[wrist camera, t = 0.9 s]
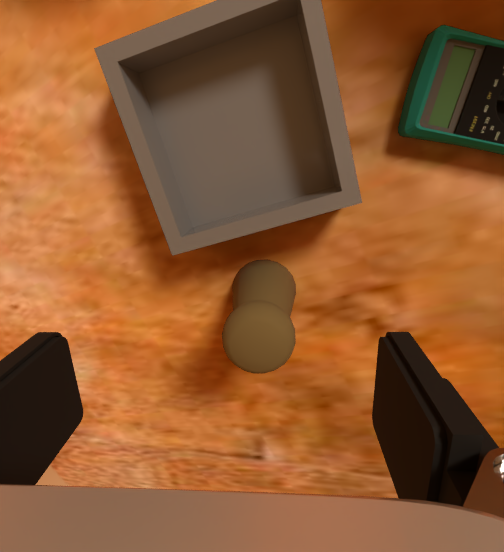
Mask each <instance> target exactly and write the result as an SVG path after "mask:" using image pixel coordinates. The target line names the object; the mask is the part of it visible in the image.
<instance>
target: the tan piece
mask: <svg viewBox="0 0 504 552" xmlns="http://www.w3.org/2000/svg"><path fill="white" fill-rule="evenodd" d="M295 294H296V286H295V282H294V279H293V276H292V275H291V273H290V272H289V271H288V270H287V269H286V268H285V267H284V266H282V265H281V264H279V263H278V262H274V261H271V260H256V261H253V262H251V263H248V264H247V265H245V266H244V267H243V268H241V269H240V270H239V272H238V273H237V275H236V276H235V279H234V283H233V311H232V312H231V314H230V315H229V317H228V318H227V320H226V322H225V324H224V328H223V332H222V339H223V347H224V350H225V352H226V354H227V356H228V358H229V359H230V360H231V361H232V362H233V363H234V364H235V365H236V366H238V367H239V368H241V369H243V370H244V371H247V372H251V373H267V372H270V371H274V370H276V369H278V368H279V367H281V366H282V365H284V364H285V363H286V361H287V360H288V359H289V358H290V356H291V354H292V351H293V349H294V346H295V328H294V326H293V323H292V321H291V319H290V315H291V311H292V307H293V303H294V298H295Z"/></svg>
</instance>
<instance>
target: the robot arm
mask: <svg viewBox="0 0 504 552" xmlns="http://www.w3.org/2000/svg"><path fill="white" fill-rule="evenodd" d="M82 417H83V407H82V403H81V398H80V394H79V389H78V385H77V381H76V376H75V372H74V367H73V363H72V358H71V354H70V350H69V345H68V341H67V339H66V338H65V337H62V335H61V334H60V333H58V332H39V333H37V334H35V335H34V336H32V337H31V338H30V339H28V340H27V341H26V342H24V343H23V344H22V345H20V346H19V347H18V348H17V349H15V350H14V351H13V352H11V353H10V354H9V355H7V356H6V357H5V358H3V359H2V360H1V361H0V552H504V448H499V447H498V446H497V444H496V443H495V442H494V440H493V439H492V438H491V436H490V435H489V434H488V432H487V431H486V430H485V428H484V427H483V426H482V424H481V423H480V422H479V420H478V419H477V417H476V416H475V415H474V413H473V412H472V411H471V409H470V408H469V407H468V405H467V404H466V403H465V401H464V400H463V399H462V397H461V396H460V395H459V393H458V392H457V391H456V389H455V388H454V387H453V385H452V384H451V383H450V382H449V381H448V380H447V379H445V378H442V377H441V376H440V374H439V373H438V371H437V370H436V369H435V367H434V366H433V365H432V363H431V362H430V360H429V359H428V358H427V356H426V355H425V354H424V352H423V351H422V349H421V348H420V347H419V345H418V344H417V343H416V341H415V340H414V338H413V337H412V336H411V334H410V333H409V332H387V333H386V336H385V337H380V339H379V344H378V356H377V367H376V378H375V390H374V401H373V412H372V419H373V426H374V429H375V432H376V435H377V438H378V441H379V444H380V446H381V449H382V452H383V455H384V458H385V461H386V463H387V466H388V469H389V472H390V475H391V478H392V481H393V483H394V486H395V489H396V492H397V495H398V498H399V499H397V498H383V497H369V496H349V495H322V494H295V493H268V492H240V491H209V490H178V489H146V488H114V487H81V486H47V485H35V484H36V483H37V482H38V480H39V479H40V477H41V476H42V475H43V473H44V472H45V471H46V469H47V468H48V466H49V465H50V464H51V462H52V461H53V460H54V458H55V457H56V455H57V454H58V453H59V451H60V450H61V449H62V447H63V446H64V444H65V443H66V442H67V440H68V439H69V437H70V436H71V435H72V433H73V432H74V431H75V429H76V428H77V426H78V425H79V424H80V422H81V420H82Z"/></svg>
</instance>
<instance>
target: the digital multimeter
mask: <svg viewBox="0 0 504 552" xmlns="http://www.w3.org/2000/svg"><path fill="white" fill-rule="evenodd" d="M398 133H399V135H401V136H404V137H410V138H416V139H423V140H429V141H435V142H442V143H448V144H454V145H459V146H464V147H469V148H474V149H479V150H484V151H489V152H494V153H498V154H502V155H504V41H502V40H498V39H494V38H490V37H487V36H483V35H479V34H476V33H472V32H468V31H465V30H461V29H457V28H454V27H450V26H446V25H441V26H440V27H438V28H437V29H436V30H434V31H433V32H432V33H430V34H429V35H428V36H427V38H426V40H425V43H424V45H423V48H422V50H421V53H420V55H419V58H418V61H417V63H416V66H415V69H414V72H413V74H412V77H411V80H410V84H409V87H408V90H407V93H406V97H405V101H404V105H403V109H402V113H401V118H400V122H399V127H398ZM466 136H467V137H466ZM485 140H486V141H485ZM490 141H491V142H490Z"/></svg>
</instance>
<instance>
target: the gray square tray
mask: <svg viewBox="0 0 504 552" xmlns="http://www.w3.org/2000/svg"><path fill="white" fill-rule="evenodd" d="M94 49H95V52H96V54H97V57H98V60H99V62H100V65H101V68H102V70H103V73H104V76H105V78H106V81H107V84H108V86H109V89H110V92H111V94H112V97H113V100H114V102H115V105H116V108H117V110H118V113H119V116H120V118H121V121H122V124H123V126H124V129H125V131H126V134H127V137H128V139H129V142H130V145H131V147H132V150H133V153H134V155H135V158H136V161H137V163H138V166H139V169H140V171H141V174H142V177H143V179H144V182H145V185H146V187H147V190H148V193H149V195H150V198H151V201H152V203H153V206H154V209H155V211H156V214H157V216H158V219H159V222H160V224H161V227H162V230H163V232H164V235H165V238H166V240H167V243H168V246H169V248H170V251H171V254H172V256H173V255H177V254H180V253H184V252H187V251H191V250H195V249H198V248H202V247H205V246H209V245H212V244H216V243H220V242H223V241H227V240H230V239H234V238H238V237H241V236H245V235H248V234H252V233H255V232H259V231H263V230H266V229H270V228H273V227H277V226H280V225H284V224H288V223H291V222H295V221H298V220H302V219H306V218H309V217H313V216H316V215H320V214H323V213H327V212H331V211H334V210H338V209H341V208H345V207H349V206H352V205H356V204H359V203H362V200H361V195H360V190H359V185H358V180H357V175H356V170H355V165H354V161H353V156H352V151H351V146H350V141H349V136H348V131H347V126H346V121H345V116H344V111H343V106H342V101H341V96H340V91H339V86H338V82H337V77H336V72H335V67H334V62H333V57H332V52H331V47H330V42H329V37H328V32H327V27H326V22H325V17H324V12H323V7H322V3H321V0H217V1H214V2H211V3H209V4H206V5H204V6H201V7H199V8H196V9H194V10H191V11H189V12H186V13H183V14H181V15H178V16H176V17H173V18H171V19H168V20H166V21H163V22H160V23H158V24H155V25H153V26H150V27H148V28H145V29H143V30H140V31H138V32H135V33H132V34H130V35H127V36H125V37H122V38H120V39H117V40H115V41H112V42H109V43H107V44H104V45H102V46H99V47H97V48H94Z"/></svg>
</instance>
